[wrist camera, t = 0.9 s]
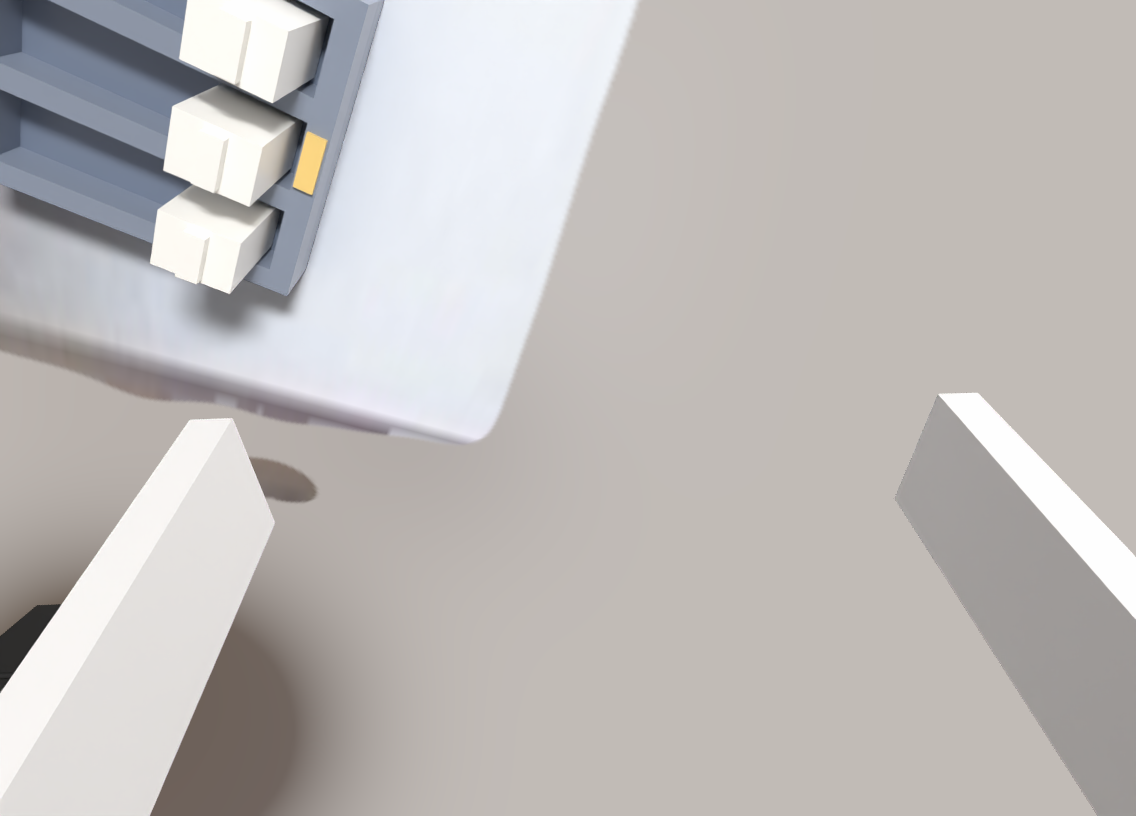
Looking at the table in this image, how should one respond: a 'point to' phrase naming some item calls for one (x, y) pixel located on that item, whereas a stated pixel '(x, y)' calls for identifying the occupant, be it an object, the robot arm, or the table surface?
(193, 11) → the tab
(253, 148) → the tab
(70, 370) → the table surface
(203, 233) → the tab
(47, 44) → the switch bank
